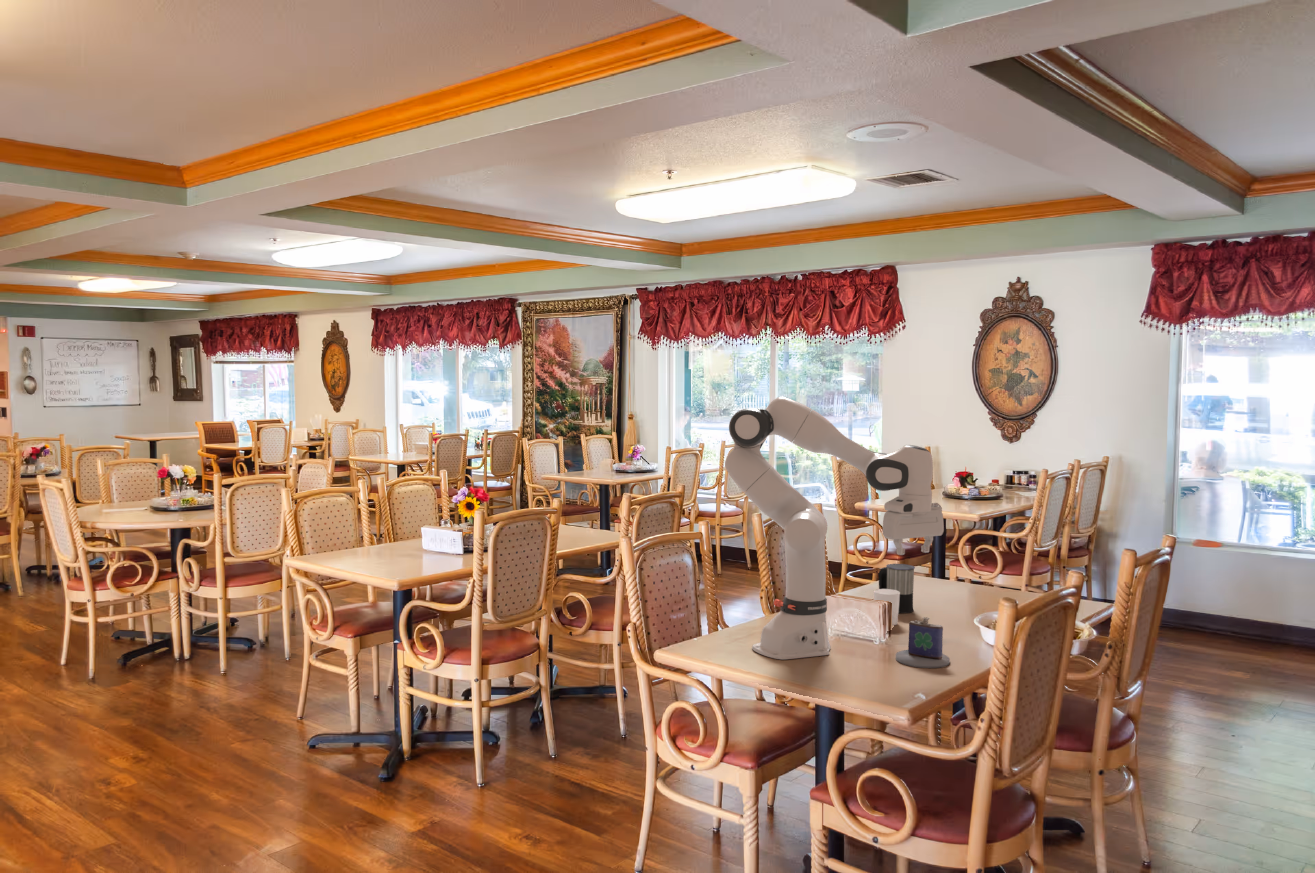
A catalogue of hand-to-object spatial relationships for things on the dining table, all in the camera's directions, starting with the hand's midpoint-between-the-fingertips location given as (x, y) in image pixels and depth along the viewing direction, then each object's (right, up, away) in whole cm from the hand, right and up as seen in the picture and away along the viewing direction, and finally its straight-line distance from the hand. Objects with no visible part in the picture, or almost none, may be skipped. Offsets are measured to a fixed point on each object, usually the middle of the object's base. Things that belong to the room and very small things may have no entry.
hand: (912, 553), depth 255 cm
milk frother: (+5, -26, +49) cm, 56 cm away
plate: (+1, -28, -7) cm, 29 cm away
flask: (+1, -27, -7) cm, 28 cm away
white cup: (+1, -26, +33) cm, 42 cm away
